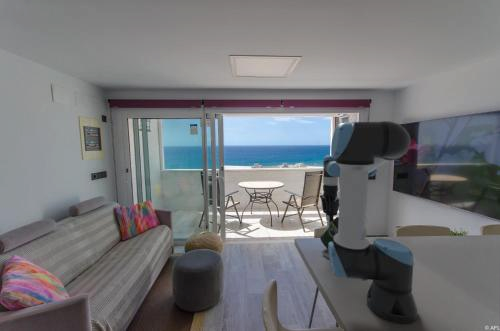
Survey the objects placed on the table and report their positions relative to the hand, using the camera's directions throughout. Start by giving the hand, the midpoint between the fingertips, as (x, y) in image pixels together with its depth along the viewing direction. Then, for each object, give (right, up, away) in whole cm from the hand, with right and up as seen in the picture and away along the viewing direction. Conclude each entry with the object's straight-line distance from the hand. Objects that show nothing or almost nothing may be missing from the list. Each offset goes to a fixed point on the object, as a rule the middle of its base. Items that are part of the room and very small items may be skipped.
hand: (329, 226), depth 124 cm
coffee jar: (0, -10, +2) cm, 10 cm away
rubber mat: (+7, -13, -11) cm, 19 cm away
